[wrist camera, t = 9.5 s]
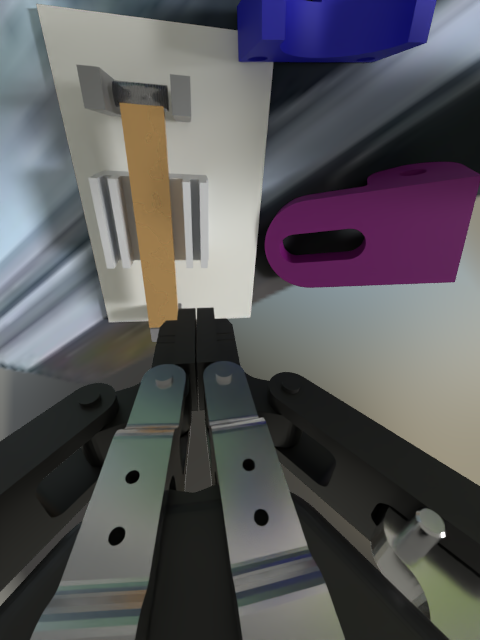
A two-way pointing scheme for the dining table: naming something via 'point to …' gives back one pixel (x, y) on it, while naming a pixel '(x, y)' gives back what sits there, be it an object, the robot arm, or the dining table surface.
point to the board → (182, 145)
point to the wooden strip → (150, 191)
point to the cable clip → (330, 29)
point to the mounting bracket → (382, 228)
